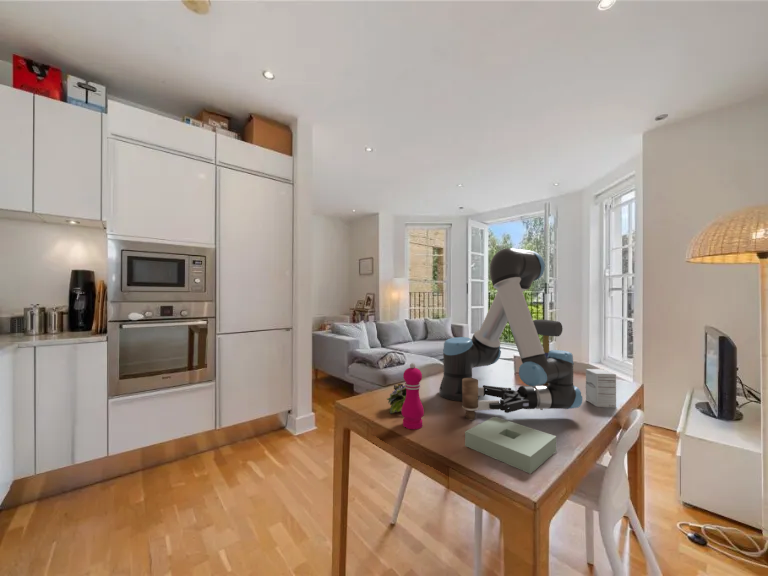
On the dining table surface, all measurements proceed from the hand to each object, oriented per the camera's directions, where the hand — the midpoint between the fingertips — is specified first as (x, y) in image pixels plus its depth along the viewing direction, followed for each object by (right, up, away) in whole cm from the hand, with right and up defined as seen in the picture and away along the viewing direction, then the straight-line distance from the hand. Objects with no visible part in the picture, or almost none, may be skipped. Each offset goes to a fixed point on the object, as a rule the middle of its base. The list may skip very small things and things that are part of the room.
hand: (471, 398), depth 106 cm
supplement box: (+54, -8, +15) cm, 56 cm away
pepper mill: (-20, -7, -5) cm, 22 cm away
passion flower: (-23, -7, +8) cm, 25 cm away
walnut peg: (0, -7, +1) cm, 7 cm away
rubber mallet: (+47, -8, +41) cm, 63 cm away
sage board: (+5, -7, -20) cm, 22 cm away
